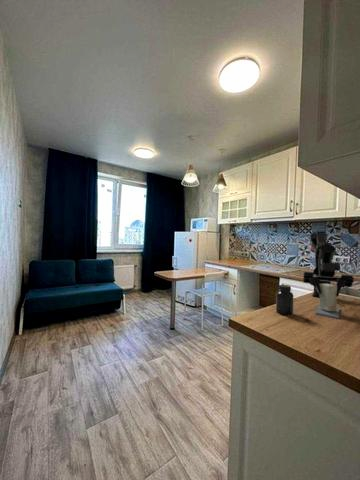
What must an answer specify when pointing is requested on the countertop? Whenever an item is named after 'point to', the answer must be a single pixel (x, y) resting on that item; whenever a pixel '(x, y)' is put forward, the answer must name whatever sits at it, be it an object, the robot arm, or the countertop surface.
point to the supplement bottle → (284, 300)
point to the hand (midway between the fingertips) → (328, 295)
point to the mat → (327, 312)
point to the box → (328, 297)
